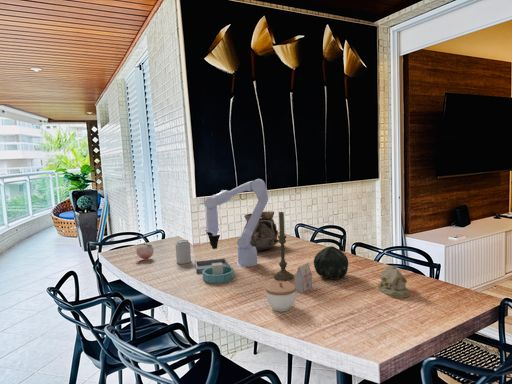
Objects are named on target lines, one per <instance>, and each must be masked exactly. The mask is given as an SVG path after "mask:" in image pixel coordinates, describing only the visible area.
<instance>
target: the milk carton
mask: <svg viewBox="0 0 512 384" xmlns="http://www.w3.org/2000/svg"><path fill="white" fill-rule="evenodd" d="M309 264H310V263H308V262H307V263H305V264H303V265H300V266H298V267H297V270H296V273H295V275H294V285H295V286H296V293H301V294H304V293H306V292H307V291H309V290H311V289H313V273H312V270H311V268H310V265H309Z"/></svg>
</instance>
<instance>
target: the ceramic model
mask: <svg viewBox="0 0 512 384" xmlns="http://www.w3.org/2000/svg"><path fill="white" fill-rule="evenodd" d="M379 275H380V276H379V278H380V280H381V282H380V283H378V284H377V290H378V291H379V292H381V293H382V294H384V295H386V296H388V297H391V298H395V299H401V298H408V297H409V296H410V294H411V293H410V291H409V289H408V288H406V284H407V283H408V279H407V278H406V277H405V276H404V275H403V274H402V273H401V271H400V270H399V269H397V266H395V265H389V266H387V267H386V268H385V269H384V270H382V272H381V273H380V274H379Z"/></svg>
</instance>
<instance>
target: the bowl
mask: <svg viewBox="0 0 512 384" xmlns="http://www.w3.org/2000/svg"><path fill="white" fill-rule="evenodd" d="M201 275H202V276H201V277H202V280H203V281H204V282H205V283H206V284H211V285H214V284H215V285H218V284H224V283H228V282H230V281H233V280H234V278H235V269H234V267H232V266H230V267H229V266H223V274H220V275H212V267H209V268H206V269H204V270H203V271H202V273H201Z"/></svg>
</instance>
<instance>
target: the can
mask: <svg viewBox="0 0 512 384" xmlns="http://www.w3.org/2000/svg"><path fill="white" fill-rule="evenodd" d="M175 258H176V259H175V260H176V263H177V264H178V265H185V264H190V263H191V262H192V256H191V243H190V242H189V240H188V239H180V240H176V244H175Z"/></svg>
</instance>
